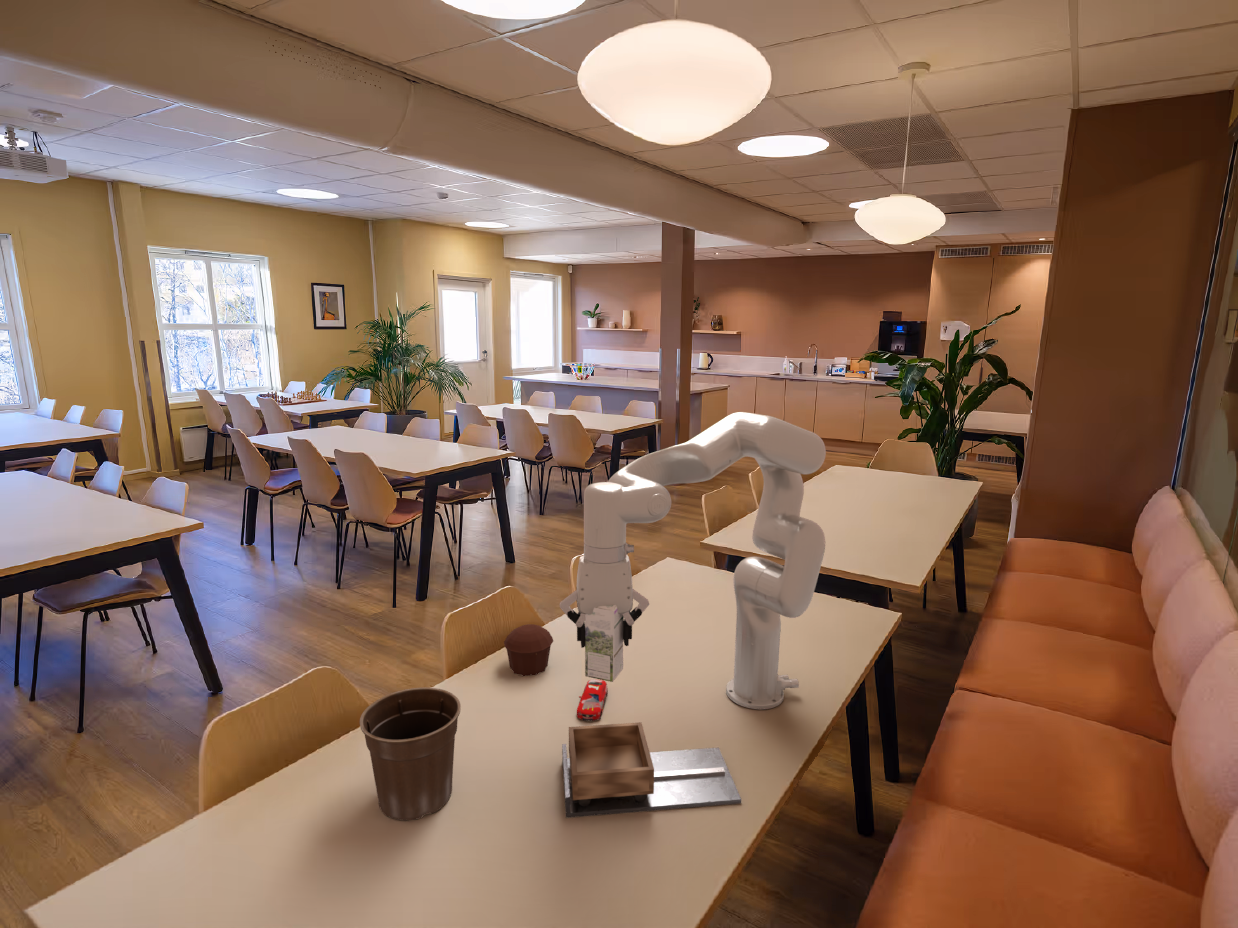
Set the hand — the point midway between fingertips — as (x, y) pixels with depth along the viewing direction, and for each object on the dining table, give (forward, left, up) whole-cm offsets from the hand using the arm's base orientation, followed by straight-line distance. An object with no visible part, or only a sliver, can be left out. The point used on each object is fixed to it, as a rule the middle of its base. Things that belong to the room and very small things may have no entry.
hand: (604, 642), depth 121 cm
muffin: (+14, -35, -23) cm, 44 cm away
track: (-7, +9, -23) cm, 25 cm away
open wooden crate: (0, +9, -23) cm, 25 cm away
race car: (+1, -17, -23) cm, 29 cm away
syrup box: (0, 0, -6) cm, 6 cm away
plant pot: (+33, +8, -23) cm, 41 cm away
